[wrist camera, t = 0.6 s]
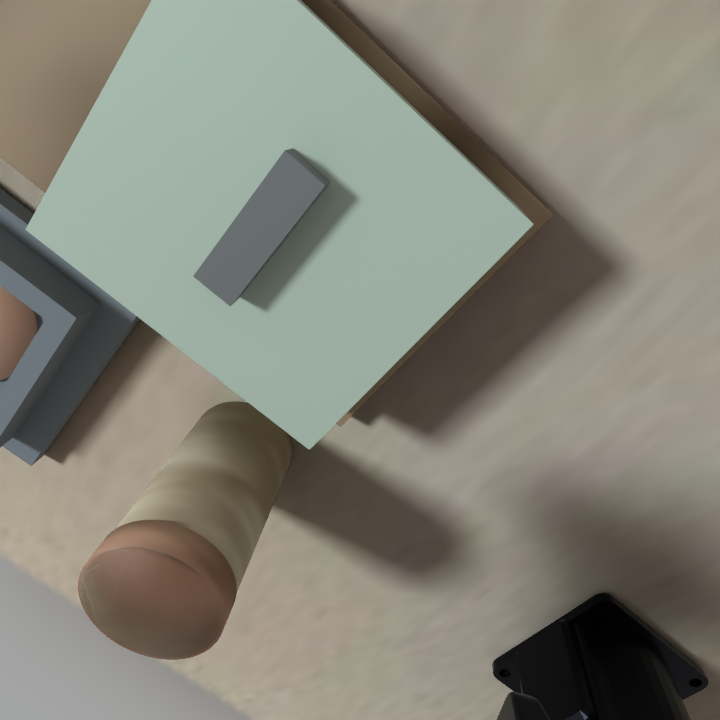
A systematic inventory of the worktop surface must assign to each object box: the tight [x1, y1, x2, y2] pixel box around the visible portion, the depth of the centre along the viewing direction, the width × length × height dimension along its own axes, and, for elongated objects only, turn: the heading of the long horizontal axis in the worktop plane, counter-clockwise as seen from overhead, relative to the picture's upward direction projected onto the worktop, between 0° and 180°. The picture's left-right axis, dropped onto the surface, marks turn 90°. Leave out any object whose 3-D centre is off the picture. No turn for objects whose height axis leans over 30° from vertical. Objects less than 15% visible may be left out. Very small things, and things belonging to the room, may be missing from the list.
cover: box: [25, 0, 534, 450], centre depth 16 cm, size 10×9×4 cm
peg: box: [78, 402, 292, 660], centre depth 19 cm, size 4×4×8 cm
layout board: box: [0, 0, 553, 427], centre depth 17 cm, size 20×10×1 cm, turn 50°
